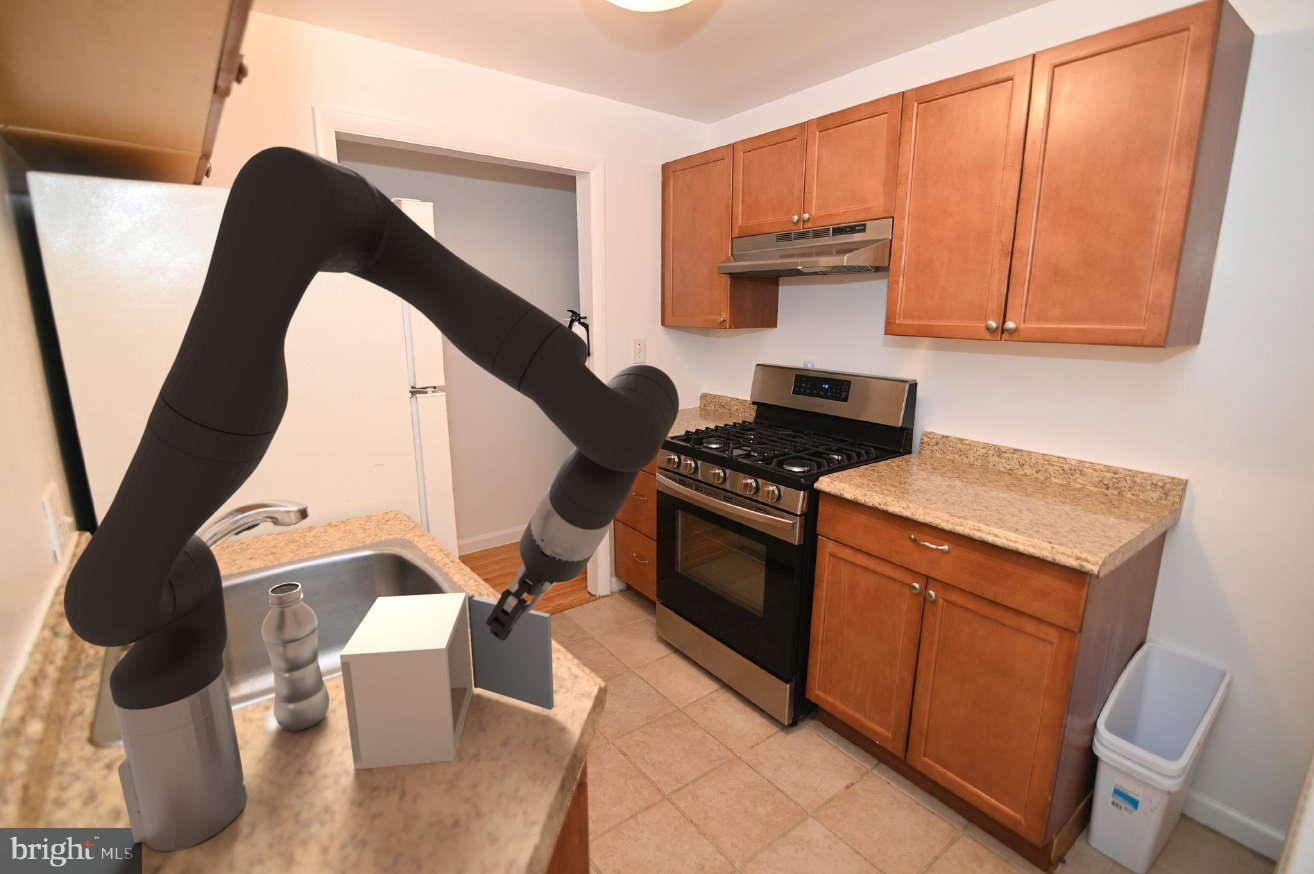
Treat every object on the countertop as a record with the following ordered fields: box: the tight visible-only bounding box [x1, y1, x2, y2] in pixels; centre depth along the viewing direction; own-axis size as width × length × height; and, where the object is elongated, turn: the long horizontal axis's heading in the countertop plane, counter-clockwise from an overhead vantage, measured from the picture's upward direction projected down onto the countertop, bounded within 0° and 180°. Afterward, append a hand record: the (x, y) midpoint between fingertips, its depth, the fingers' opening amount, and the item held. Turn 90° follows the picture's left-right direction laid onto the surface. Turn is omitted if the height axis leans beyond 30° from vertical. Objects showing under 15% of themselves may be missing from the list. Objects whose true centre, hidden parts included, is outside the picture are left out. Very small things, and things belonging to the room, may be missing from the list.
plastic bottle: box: [260, 581, 330, 732], centre depth 80 cm, size 6×7×20 cm
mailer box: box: [339, 592, 474, 770], centre depth 79 cm, size 12×14×16 cm
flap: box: [466, 593, 555, 711], centre depth 84 cm, size 1×14×15 cm, turn 68°
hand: (520, 608), depth 71 cm, fingers open, 8 cm apart
